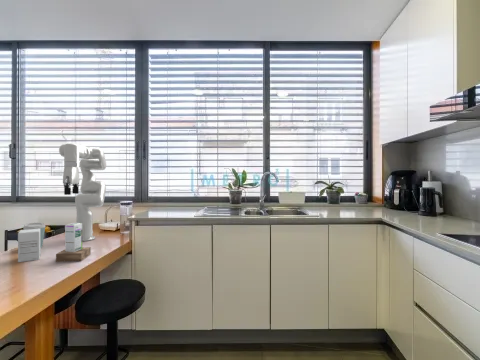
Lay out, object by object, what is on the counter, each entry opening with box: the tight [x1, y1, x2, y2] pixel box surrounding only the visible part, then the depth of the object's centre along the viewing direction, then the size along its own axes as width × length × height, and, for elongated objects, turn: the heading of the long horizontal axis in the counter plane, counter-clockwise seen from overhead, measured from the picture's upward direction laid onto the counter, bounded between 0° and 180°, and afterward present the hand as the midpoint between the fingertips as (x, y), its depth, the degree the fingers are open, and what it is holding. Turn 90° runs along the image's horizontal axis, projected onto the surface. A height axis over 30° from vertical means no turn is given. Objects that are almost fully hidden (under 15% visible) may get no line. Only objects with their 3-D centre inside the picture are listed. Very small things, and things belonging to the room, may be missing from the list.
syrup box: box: [64, 222, 83, 252], centre depth 144 cm, size 6×6×14 cm
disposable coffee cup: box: [22, 222, 47, 249], centre depth 160 cm, size 11×11×15 cm
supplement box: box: [17, 229, 41, 263], centre depth 141 cm, size 9×9×15 cm
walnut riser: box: [55, 246, 92, 263], centre depth 144 cm, size 12×12×4 cm
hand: (71, 194), depth 157 cm, fingers open, 9 cm apart
